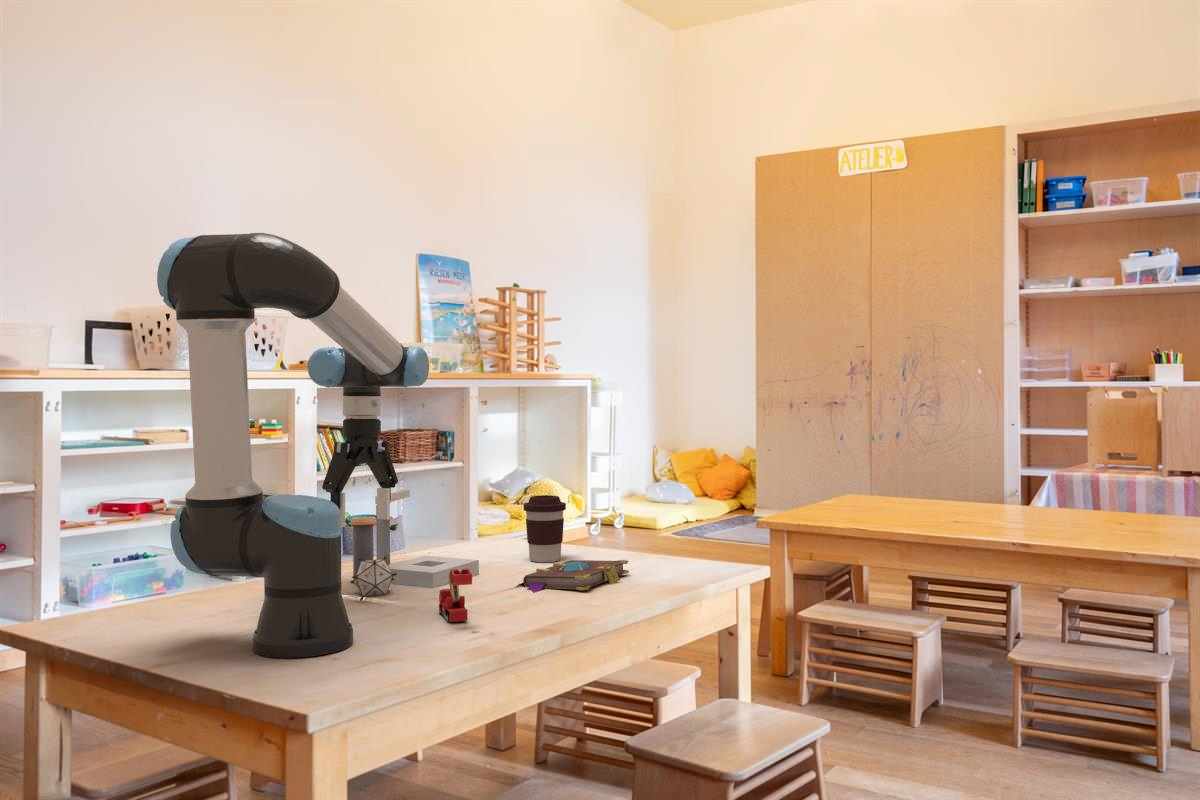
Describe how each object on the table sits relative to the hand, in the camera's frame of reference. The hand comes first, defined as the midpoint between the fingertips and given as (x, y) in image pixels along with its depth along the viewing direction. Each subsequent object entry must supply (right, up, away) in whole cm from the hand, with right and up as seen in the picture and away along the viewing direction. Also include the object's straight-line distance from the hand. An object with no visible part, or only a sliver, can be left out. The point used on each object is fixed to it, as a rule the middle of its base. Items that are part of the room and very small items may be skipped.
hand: (361, 522), depth 201 cm
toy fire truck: (+23, -14, -28) cm, 39 cm away
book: (+43, -14, +5) cm, 46 cm away
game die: (+5, -14, -10) cm, 17 cm away
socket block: (+13, -13, +5) cm, 19 cm away
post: (+2, -13, +11) cm, 17 cm away
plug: (0, -13, +1) cm, 13 cm away
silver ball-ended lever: (+3, +3, +17) cm, 17 cm away
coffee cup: (+36, -13, +32) cm, 49 cm away
